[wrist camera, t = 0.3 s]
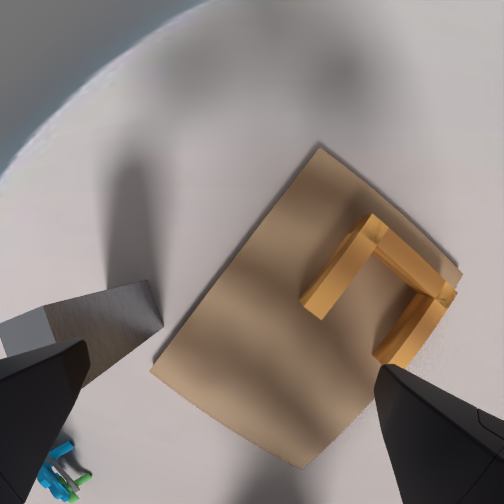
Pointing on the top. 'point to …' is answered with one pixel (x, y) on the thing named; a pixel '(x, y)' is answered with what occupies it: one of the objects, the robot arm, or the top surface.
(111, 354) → the link bar
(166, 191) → the top surface
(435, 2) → the top surface
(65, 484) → the gear
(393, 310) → the plate
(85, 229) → the top surface
